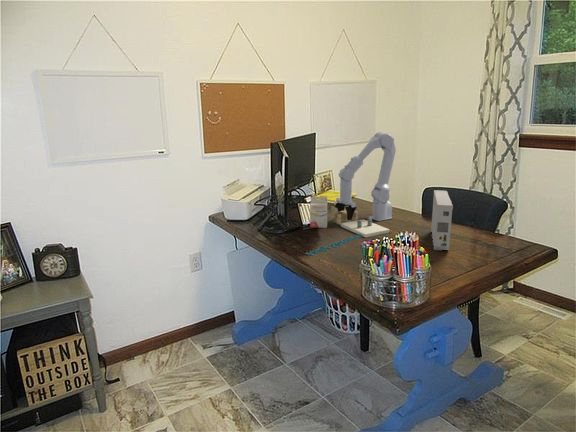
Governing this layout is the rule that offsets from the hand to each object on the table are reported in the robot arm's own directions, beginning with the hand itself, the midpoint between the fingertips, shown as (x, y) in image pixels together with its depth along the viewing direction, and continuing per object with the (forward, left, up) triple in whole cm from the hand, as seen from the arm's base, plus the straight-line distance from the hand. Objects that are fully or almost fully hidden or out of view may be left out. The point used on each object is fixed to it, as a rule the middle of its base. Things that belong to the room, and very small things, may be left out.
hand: (345, 218), depth 216 cm
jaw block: (0, 0, -2) cm, 2 cm away
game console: (-17, +47, -2) cm, 50 cm away
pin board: (0, +16, -2) cm, 16 cm away
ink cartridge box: (+16, 0, -2) cm, 16 cm away
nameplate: (+23, +27, -2) cm, 35 cm away
